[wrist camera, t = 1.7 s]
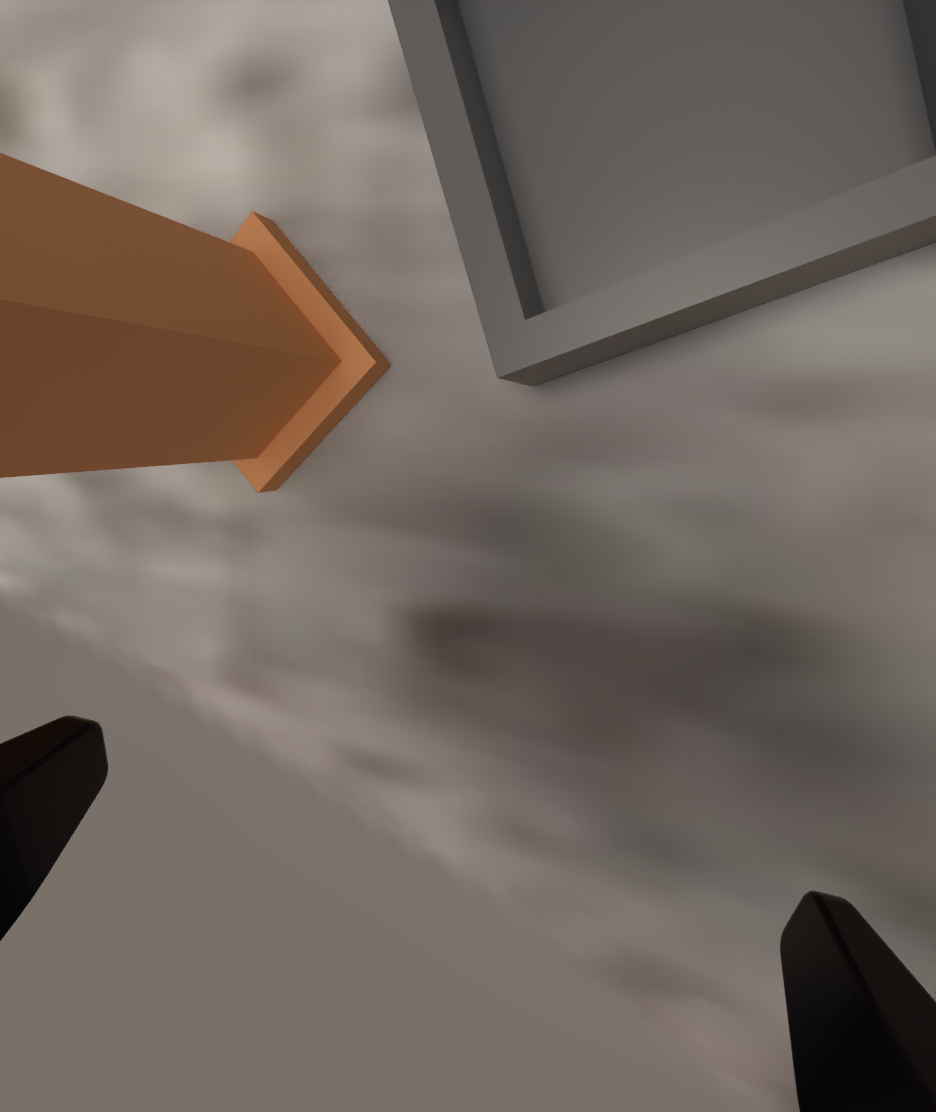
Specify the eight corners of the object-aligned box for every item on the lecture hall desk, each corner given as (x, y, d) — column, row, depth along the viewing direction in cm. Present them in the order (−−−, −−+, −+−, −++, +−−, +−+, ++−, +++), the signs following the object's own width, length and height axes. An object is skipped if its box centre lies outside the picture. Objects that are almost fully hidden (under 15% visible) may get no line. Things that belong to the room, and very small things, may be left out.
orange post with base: (391, 364, 20) (-8, 286, 8) (276, 489, 22) (-158, 557, 11) (272, 220, 20) (-257, -35, 9) (172, 358, 22) (-351, 291, 11)
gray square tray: (995, 220, 14) (1085, 159, 11) (532, 386, 18) (497, 377, 15) (883, -315, 13) (944, -557, 10) (419, -12, 17) (354, -113, 14)
